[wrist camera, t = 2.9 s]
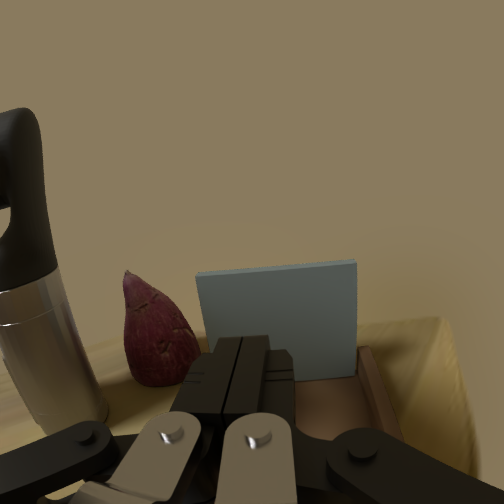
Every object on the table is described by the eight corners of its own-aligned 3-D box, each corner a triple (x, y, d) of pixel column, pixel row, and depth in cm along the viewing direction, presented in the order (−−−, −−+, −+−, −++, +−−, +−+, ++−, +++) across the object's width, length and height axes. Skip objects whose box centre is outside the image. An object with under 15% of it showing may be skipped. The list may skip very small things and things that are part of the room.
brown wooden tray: (162, 524, 16) (139, 494, 15) (208, 391, 34) (200, 356, 32) (402, 521, 14) (419, 489, 13) (365, 382, 31) (368, 345, 30)
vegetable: (128, 392, 39) (69, 300, 35) (169, 350, 47) (122, 265, 43) (178, 400, 33) (108, 289, 30) (221, 348, 42) (169, 248, 38)
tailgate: (217, 383, 32) (195, 276, 29) (221, 370, 34) (201, 268, 31) (354, 375, 30) (356, 262, 27) (350, 362, 32) (351, 255, 29)
